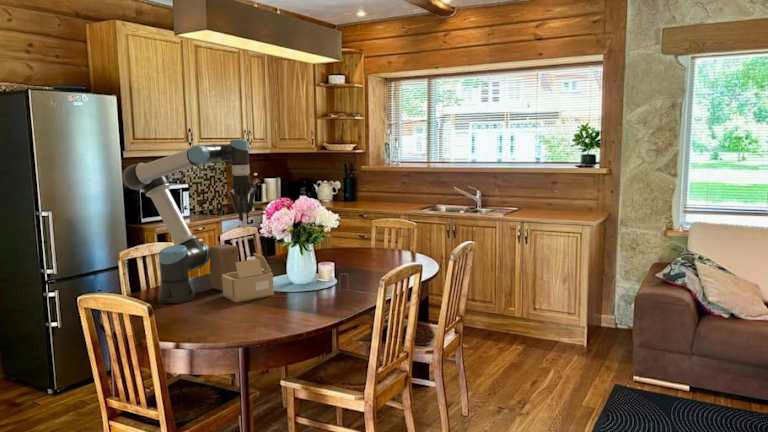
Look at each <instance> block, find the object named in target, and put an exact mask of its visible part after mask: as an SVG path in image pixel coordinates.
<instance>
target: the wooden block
mask: <svg viewBox="0 0 768 432" xmlns="http://www.w3.org/2000/svg"><path fill="white" fill-rule="evenodd" d="M209 251H210V258H209V269H210V270H209V272H210V273H209V275H210V277H209V278H210V280H209V281H210V288H213V289H215V290H219V291H221V292H223V283H222V274H227V273H231V272H237V268H236V264H235V263H236V262H240V261H239V246H237V245H232V244H227V243H224V244H218V245H211V246H209Z"/></svg>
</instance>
